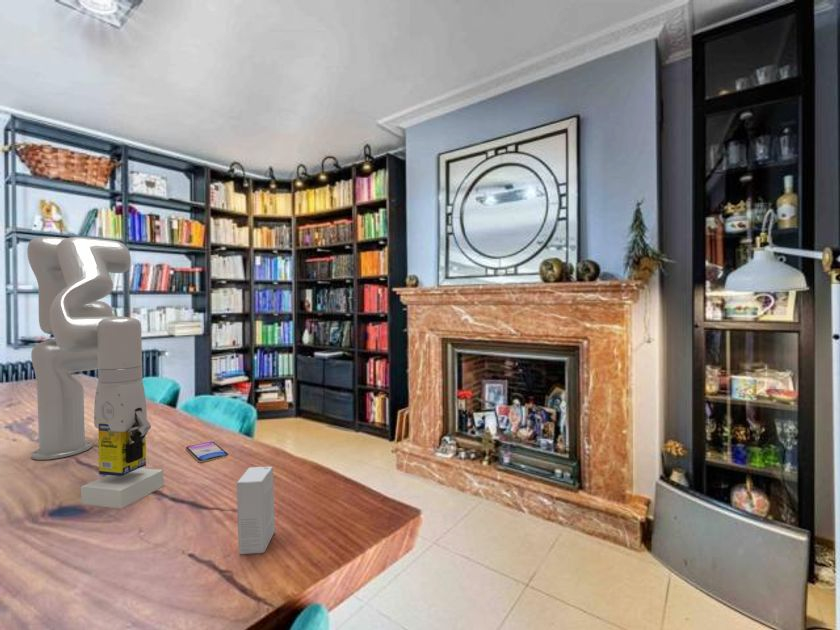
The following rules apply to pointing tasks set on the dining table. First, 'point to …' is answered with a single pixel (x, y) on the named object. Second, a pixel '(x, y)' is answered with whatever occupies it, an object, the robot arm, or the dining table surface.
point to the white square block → (122, 488)
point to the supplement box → (116, 452)
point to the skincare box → (255, 510)
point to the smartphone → (206, 452)
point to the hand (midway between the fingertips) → (123, 457)
